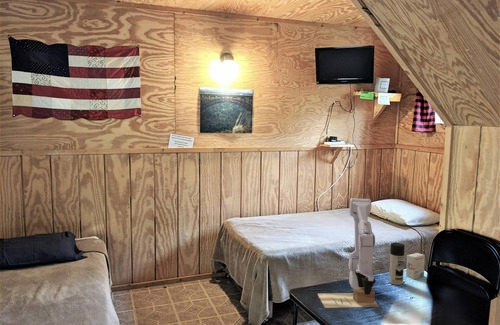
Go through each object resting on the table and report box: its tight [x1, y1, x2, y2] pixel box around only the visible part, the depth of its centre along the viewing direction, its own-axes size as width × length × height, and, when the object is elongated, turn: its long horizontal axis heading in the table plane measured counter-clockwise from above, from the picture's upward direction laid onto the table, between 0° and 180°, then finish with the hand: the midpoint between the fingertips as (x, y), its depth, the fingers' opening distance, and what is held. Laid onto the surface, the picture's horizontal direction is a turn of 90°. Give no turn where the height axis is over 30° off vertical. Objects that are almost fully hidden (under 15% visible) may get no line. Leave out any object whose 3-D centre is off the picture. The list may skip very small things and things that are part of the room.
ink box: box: [405, 252, 426, 280], centre depth 211 cm, size 9×5×12 cm, turn 119°
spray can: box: [388, 241, 406, 286], centre depth 201 cm, size 7×7×20 cm
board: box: [317, 292, 381, 309], centre depth 178 cm, size 14×24×2 cm, turn 94°
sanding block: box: [352, 288, 376, 303], centre depth 177 cm, size 4×8×5 cm, turn 94°
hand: (364, 290), depth 177 cm, fingers open, 7 cm apart
